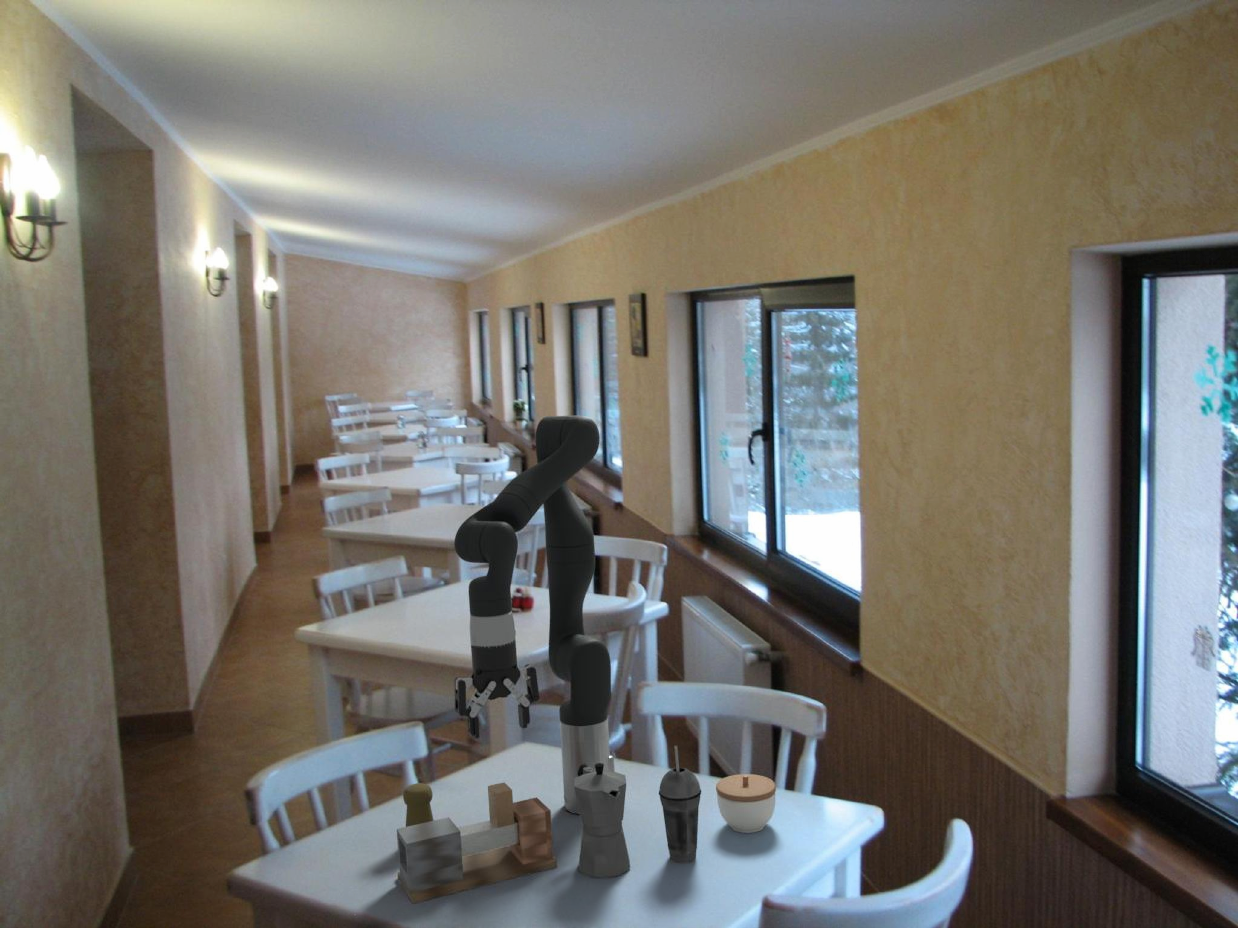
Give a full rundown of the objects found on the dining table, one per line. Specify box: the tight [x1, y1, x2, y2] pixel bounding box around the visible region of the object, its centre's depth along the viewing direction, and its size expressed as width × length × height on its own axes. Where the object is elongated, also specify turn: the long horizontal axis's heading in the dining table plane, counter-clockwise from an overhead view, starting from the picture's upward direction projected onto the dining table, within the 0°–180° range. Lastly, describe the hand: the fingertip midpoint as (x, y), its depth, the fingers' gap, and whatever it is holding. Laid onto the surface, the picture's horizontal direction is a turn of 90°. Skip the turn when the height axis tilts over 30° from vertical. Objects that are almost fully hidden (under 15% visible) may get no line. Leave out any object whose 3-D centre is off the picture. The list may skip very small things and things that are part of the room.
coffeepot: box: [574, 763, 631, 879], centre depth 188 cm, size 15×9×18 cm, turn 25°
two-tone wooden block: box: [457, 781, 520, 857], centre depth 188 cm, size 17×4×10 cm, turn 115°
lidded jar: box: [715, 773, 777, 834], centre depth 201 cm, size 11×11×9 cm
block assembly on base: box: [396, 796, 558, 904], centre depth 188 cm, size 25×10×9 cm, turn 115°
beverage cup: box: [658, 745, 702, 864], centre depth 189 cm, size 7×7×20 cm
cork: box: [402, 782, 435, 827], centre depth 200 cm, size 6×6×11 cm
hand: (499, 731), depth 188 cm, fingers open, 8 cm apart
